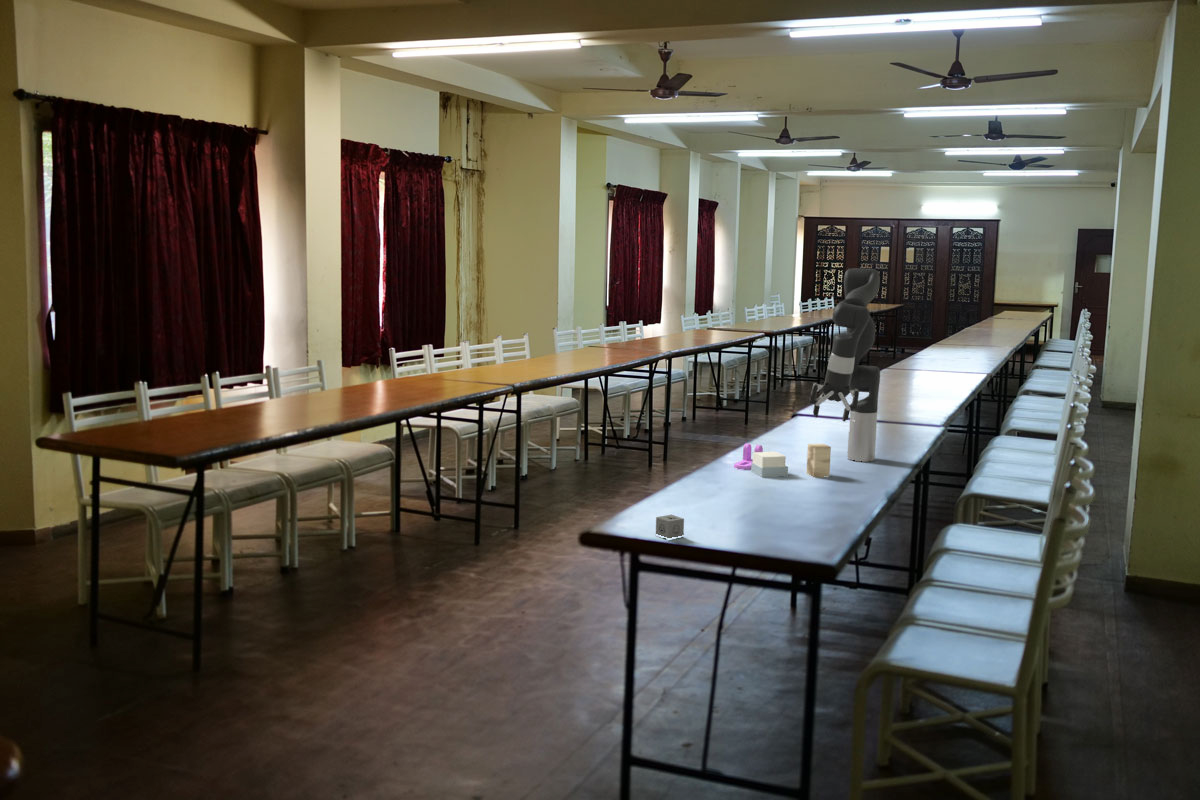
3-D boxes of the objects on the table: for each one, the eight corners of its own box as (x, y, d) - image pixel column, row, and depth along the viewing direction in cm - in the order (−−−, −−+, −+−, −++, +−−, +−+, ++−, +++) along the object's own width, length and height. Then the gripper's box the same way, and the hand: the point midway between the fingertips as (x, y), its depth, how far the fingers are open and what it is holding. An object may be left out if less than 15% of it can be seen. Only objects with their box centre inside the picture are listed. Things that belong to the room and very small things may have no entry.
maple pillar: (806, 474, 344) (807, 444, 343) (821, 473, 346) (823, 443, 344) (813, 477, 339) (815, 447, 338) (829, 477, 340) (830, 446, 339)
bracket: (747, 462, 362) (747, 442, 361) (762, 464, 359) (762, 444, 358) (731, 468, 351) (731, 448, 350) (746, 470, 349) (747, 450, 348)
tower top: (752, 462, 346) (752, 452, 346) (774, 461, 348) (775, 451, 348) (762, 467, 338) (762, 457, 338) (785, 466, 341) (785, 456, 340)
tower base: (751, 472, 347) (751, 462, 347) (776, 472, 349) (776, 461, 349) (761, 478, 338) (762, 468, 338) (787, 477, 341) (787, 467, 340)
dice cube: (668, 540, 263) (668, 521, 262) (655, 536, 267) (656, 517, 266) (683, 537, 266) (684, 518, 265) (670, 533, 270) (671, 514, 269)
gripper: (862, 368, 320) (851, 418, 325) (815, 361, 321) (805, 411, 326) (865, 375, 313) (854, 426, 318) (817, 368, 314) (807, 419, 319)
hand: (829, 418), depth 322 cm, fingers open, 8 cm apart
